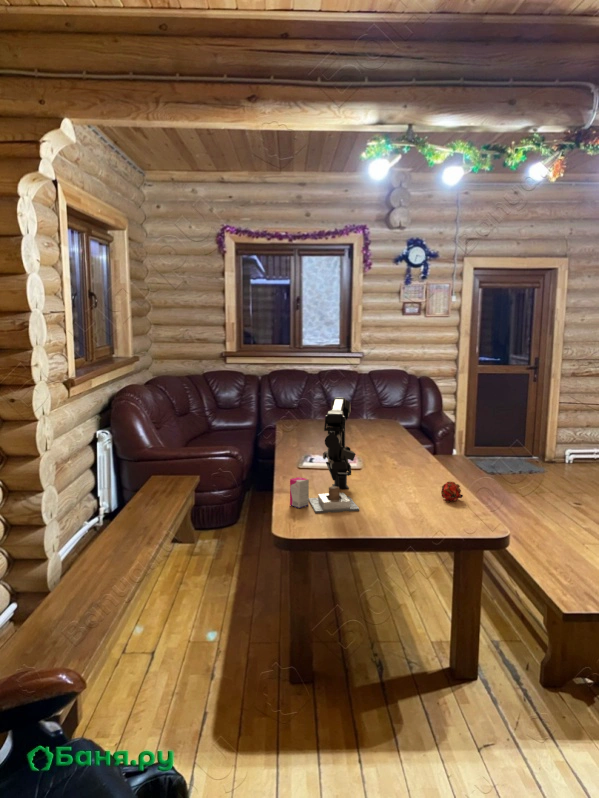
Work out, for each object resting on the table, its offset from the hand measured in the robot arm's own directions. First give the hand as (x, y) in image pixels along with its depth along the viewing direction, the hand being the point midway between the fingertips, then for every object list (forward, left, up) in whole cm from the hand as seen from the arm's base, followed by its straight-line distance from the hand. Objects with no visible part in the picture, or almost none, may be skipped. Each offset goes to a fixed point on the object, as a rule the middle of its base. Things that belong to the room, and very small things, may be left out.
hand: (334, 480), depth 230 cm
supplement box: (-3, -14, -12) cm, 18 cm away
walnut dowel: (0, 0, -10) cm, 10 cm away
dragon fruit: (0, +52, -12) cm, 53 cm away
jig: (-1, 0, -11) cm, 11 cm away
